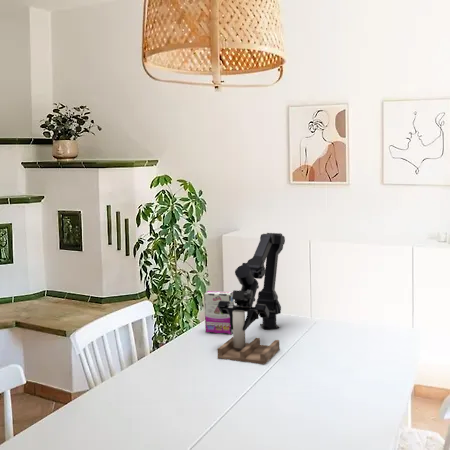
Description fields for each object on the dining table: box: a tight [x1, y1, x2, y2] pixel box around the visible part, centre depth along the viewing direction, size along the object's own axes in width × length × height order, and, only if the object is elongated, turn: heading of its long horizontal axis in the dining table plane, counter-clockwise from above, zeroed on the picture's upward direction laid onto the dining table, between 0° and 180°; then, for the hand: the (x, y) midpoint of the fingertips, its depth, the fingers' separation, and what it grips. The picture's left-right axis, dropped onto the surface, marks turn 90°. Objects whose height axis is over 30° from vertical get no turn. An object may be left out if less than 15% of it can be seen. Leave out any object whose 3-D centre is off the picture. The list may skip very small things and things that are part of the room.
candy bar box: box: [203, 290, 235, 335], centre depth 245 cm, size 11×5×16 cm, turn 73°
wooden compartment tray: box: [217, 336, 281, 365], centre depth 219 cm, size 16×18×4 cm
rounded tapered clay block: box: [232, 310, 246, 348], centre depth 220 cm, size 4×4×13 cm
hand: (237, 329), depth 219 cm, fingers closed on rounded tapered clay block, 4 cm apart
